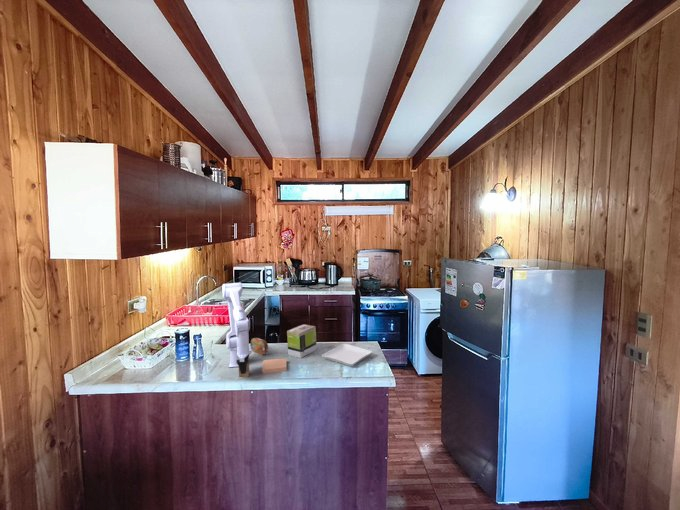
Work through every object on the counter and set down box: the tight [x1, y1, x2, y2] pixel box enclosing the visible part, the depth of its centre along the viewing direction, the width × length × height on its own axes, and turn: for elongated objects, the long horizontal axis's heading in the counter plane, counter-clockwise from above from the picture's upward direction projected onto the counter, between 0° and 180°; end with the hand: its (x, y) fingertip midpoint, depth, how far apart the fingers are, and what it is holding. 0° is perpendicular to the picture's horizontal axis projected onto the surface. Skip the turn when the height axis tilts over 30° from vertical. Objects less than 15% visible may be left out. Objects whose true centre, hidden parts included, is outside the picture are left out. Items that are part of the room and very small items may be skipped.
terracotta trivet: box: [262, 357, 288, 374], centre depth 171 cm, size 12×12×2 cm
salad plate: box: [321, 343, 373, 367], centre depth 182 cm, size 21×21×3 cm
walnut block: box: [238, 361, 250, 378], centre depth 162 cm, size 4×4×6 cm
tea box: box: [286, 324, 318, 359], centre depth 190 cm, size 15×10×15 cm, turn 146°
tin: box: [249, 337, 269, 356], centre depth 191 cm, size 15×3×8 cm, turn 48°
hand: (244, 370), depth 162 cm, fingers open, 7 cm apart
